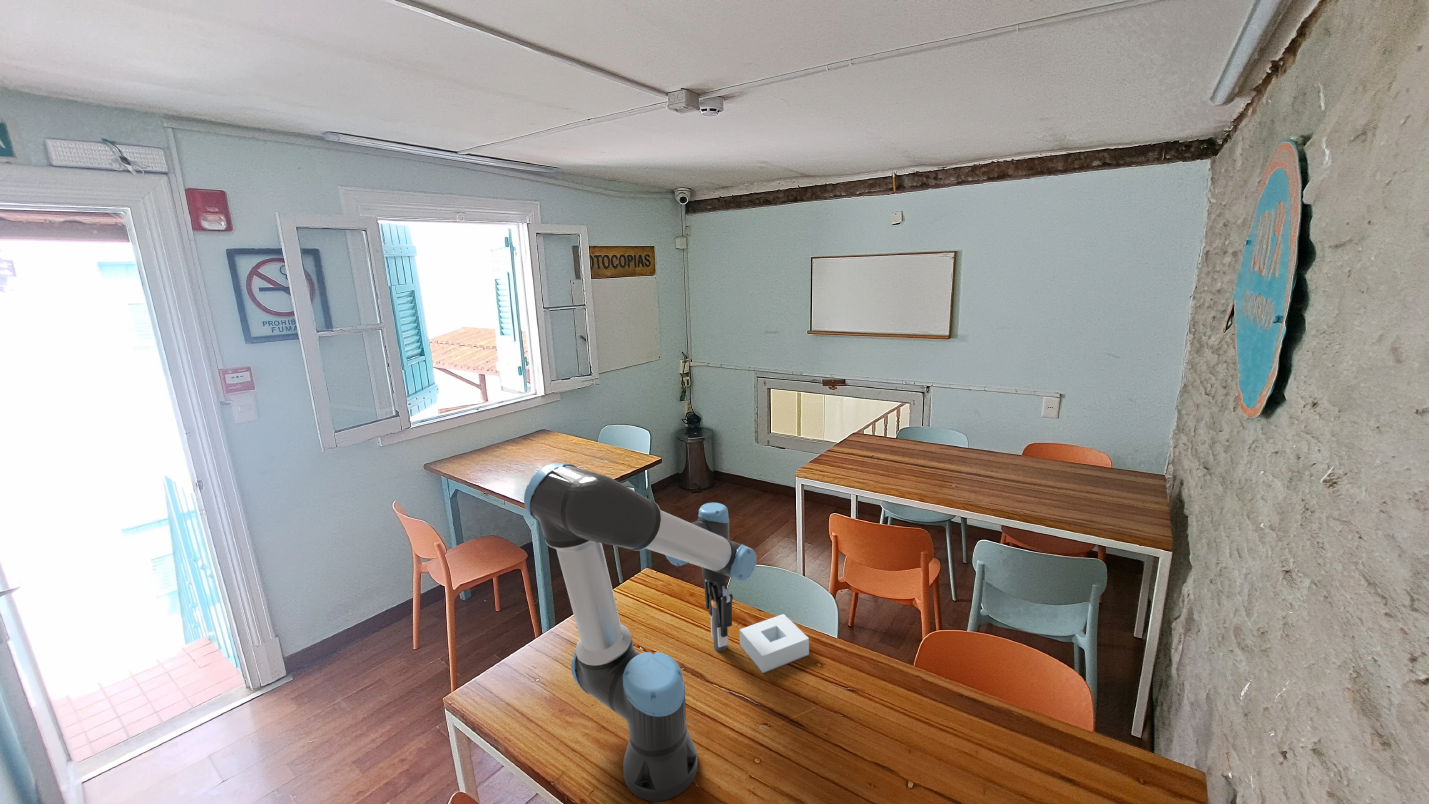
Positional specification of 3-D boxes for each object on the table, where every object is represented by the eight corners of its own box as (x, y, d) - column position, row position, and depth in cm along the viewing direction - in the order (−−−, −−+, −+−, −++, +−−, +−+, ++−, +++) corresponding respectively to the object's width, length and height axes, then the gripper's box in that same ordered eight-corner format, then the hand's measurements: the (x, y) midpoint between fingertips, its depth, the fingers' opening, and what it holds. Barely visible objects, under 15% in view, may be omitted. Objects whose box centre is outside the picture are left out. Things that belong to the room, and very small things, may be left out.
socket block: (808, 654, 143) (808, 638, 142) (762, 673, 137) (762, 656, 136) (783, 629, 153) (783, 613, 152) (740, 645, 148) (739, 629, 146)
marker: (728, 649, 146) (726, 602, 143) (717, 653, 145) (714, 606, 142) (723, 641, 150) (720, 595, 146) (711, 645, 148) (709, 599, 145)
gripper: (744, 572, 136) (746, 654, 141) (715, 544, 150) (718, 620, 156) (716, 580, 133) (720, 664, 138) (690, 551, 147) (694, 628, 152)
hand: (719, 640), depth 147 cm, fingers closed on marker, 3 cm apart
